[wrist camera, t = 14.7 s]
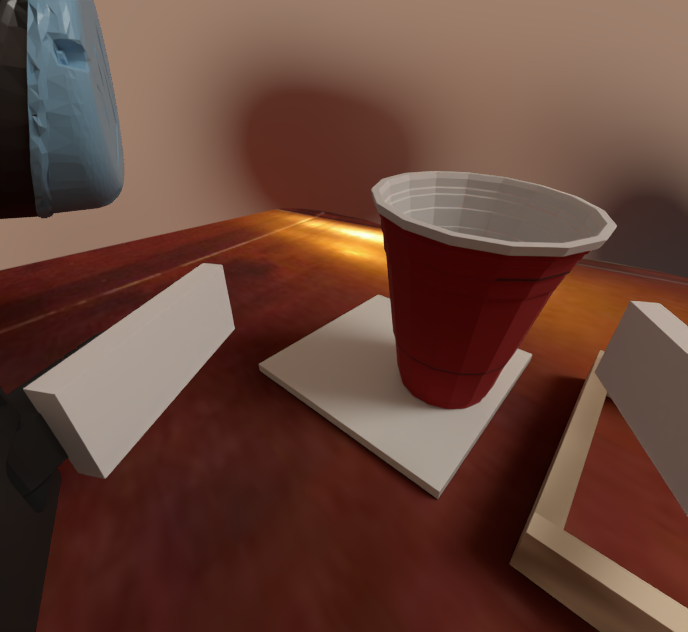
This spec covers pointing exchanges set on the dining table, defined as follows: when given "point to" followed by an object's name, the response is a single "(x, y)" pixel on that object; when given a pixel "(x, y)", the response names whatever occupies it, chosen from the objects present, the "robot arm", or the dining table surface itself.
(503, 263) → the plastic cup
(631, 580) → the birch collar
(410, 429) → the white tile
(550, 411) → the dining table surface
